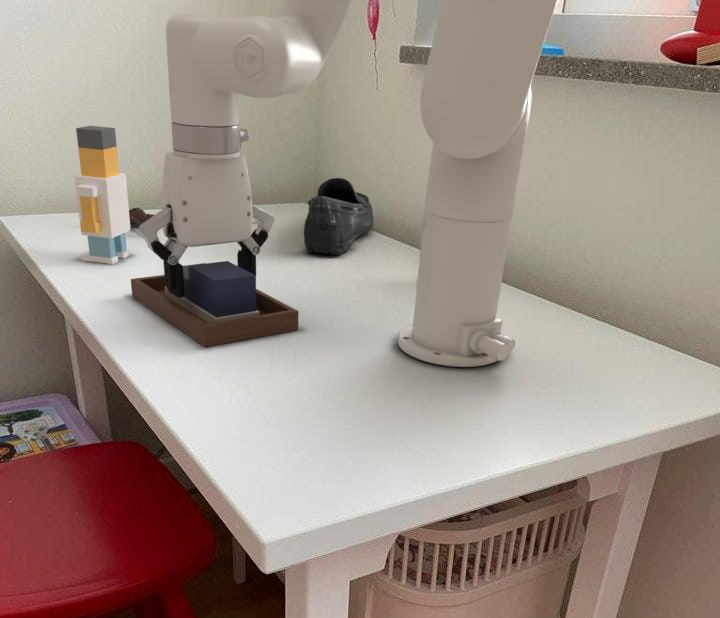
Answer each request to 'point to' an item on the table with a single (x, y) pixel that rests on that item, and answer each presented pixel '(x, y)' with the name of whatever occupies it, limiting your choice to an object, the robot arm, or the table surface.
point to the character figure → (101, 195)
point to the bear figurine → (138, 216)
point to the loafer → (336, 218)
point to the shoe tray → (269, 322)
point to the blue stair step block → (218, 292)
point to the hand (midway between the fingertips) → (212, 289)
